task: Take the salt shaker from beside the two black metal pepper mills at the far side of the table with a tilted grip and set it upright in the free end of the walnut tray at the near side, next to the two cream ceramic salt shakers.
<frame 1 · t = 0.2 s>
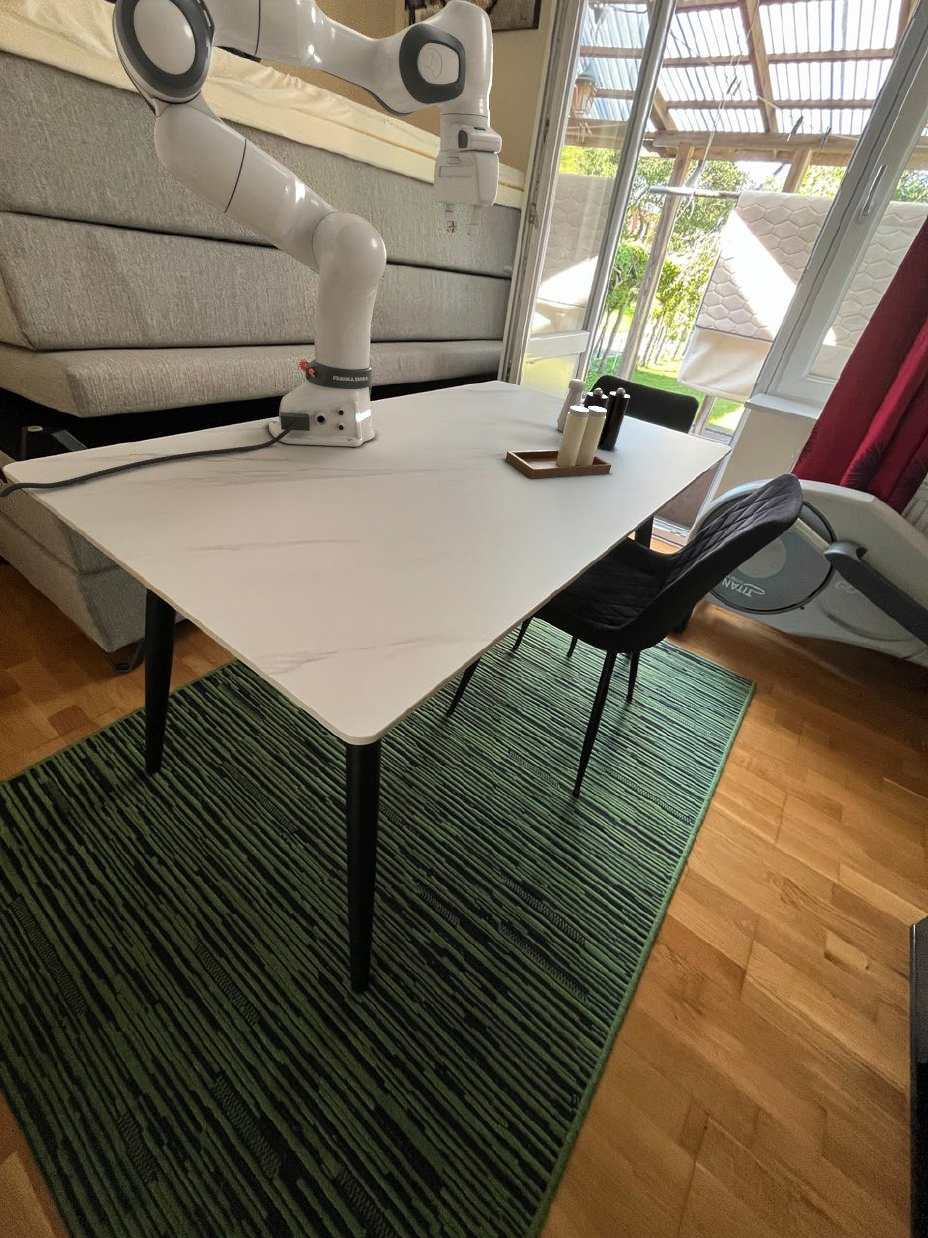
hand: (461, 233, 103), 39 cm above the table, tool pointing down, fingers open, 8 cm apart
walnut tray: (557, 466, 116), on the table
cream shaker 1: (564, 466, 117), resting on walnut tray
cream shaker 2: (581, 465, 120), resting on walnut tray
salt shaker: (565, 431, 142), on the table
pepper mill 2: (604, 447, 134), on the table
pepper mill 1: (582, 449, 130), on the table
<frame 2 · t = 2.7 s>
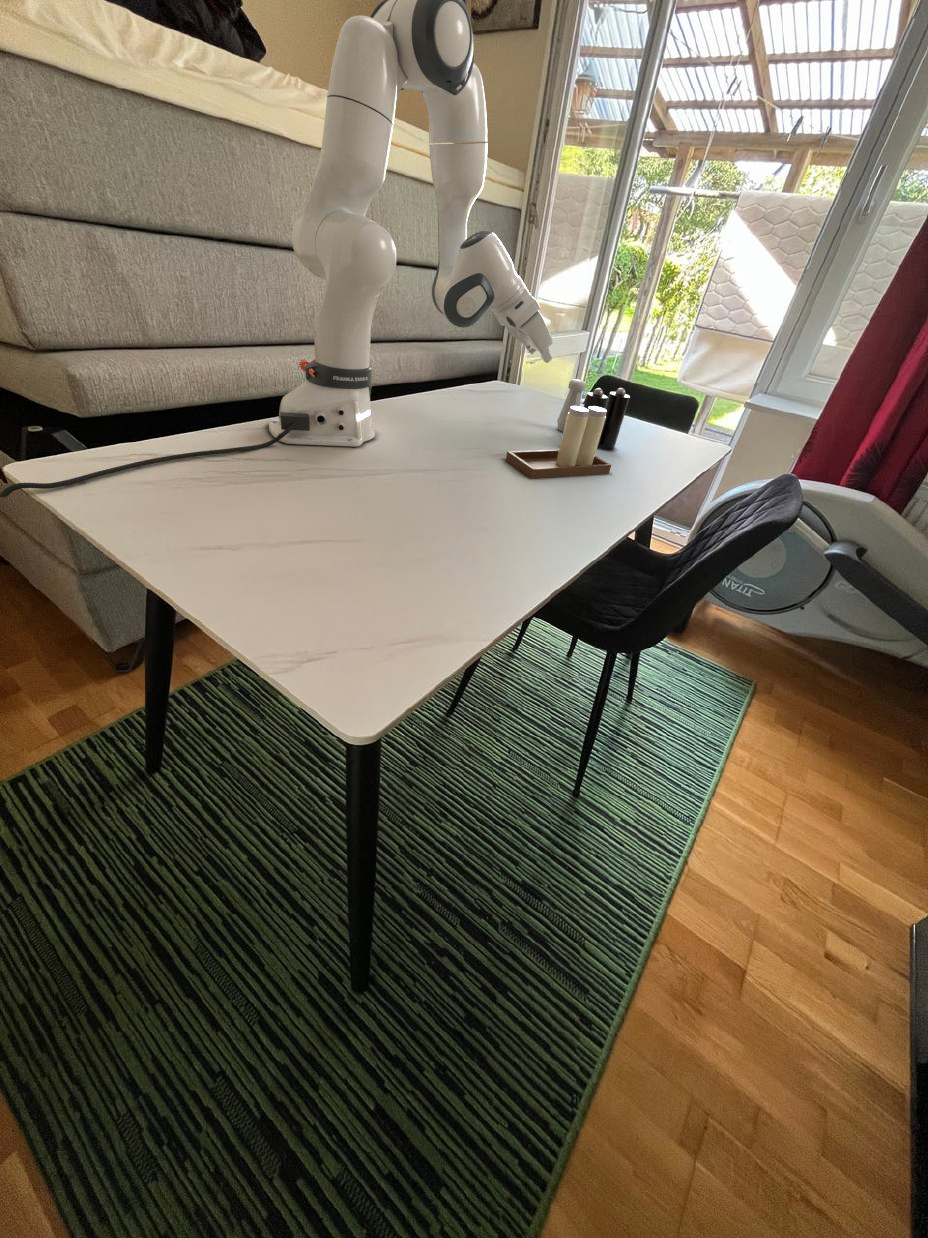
hand: (540, 355, 127), 18 cm above the table, tool tilted 45°, fingers open, 8 cm apart
nothing on the table moved.
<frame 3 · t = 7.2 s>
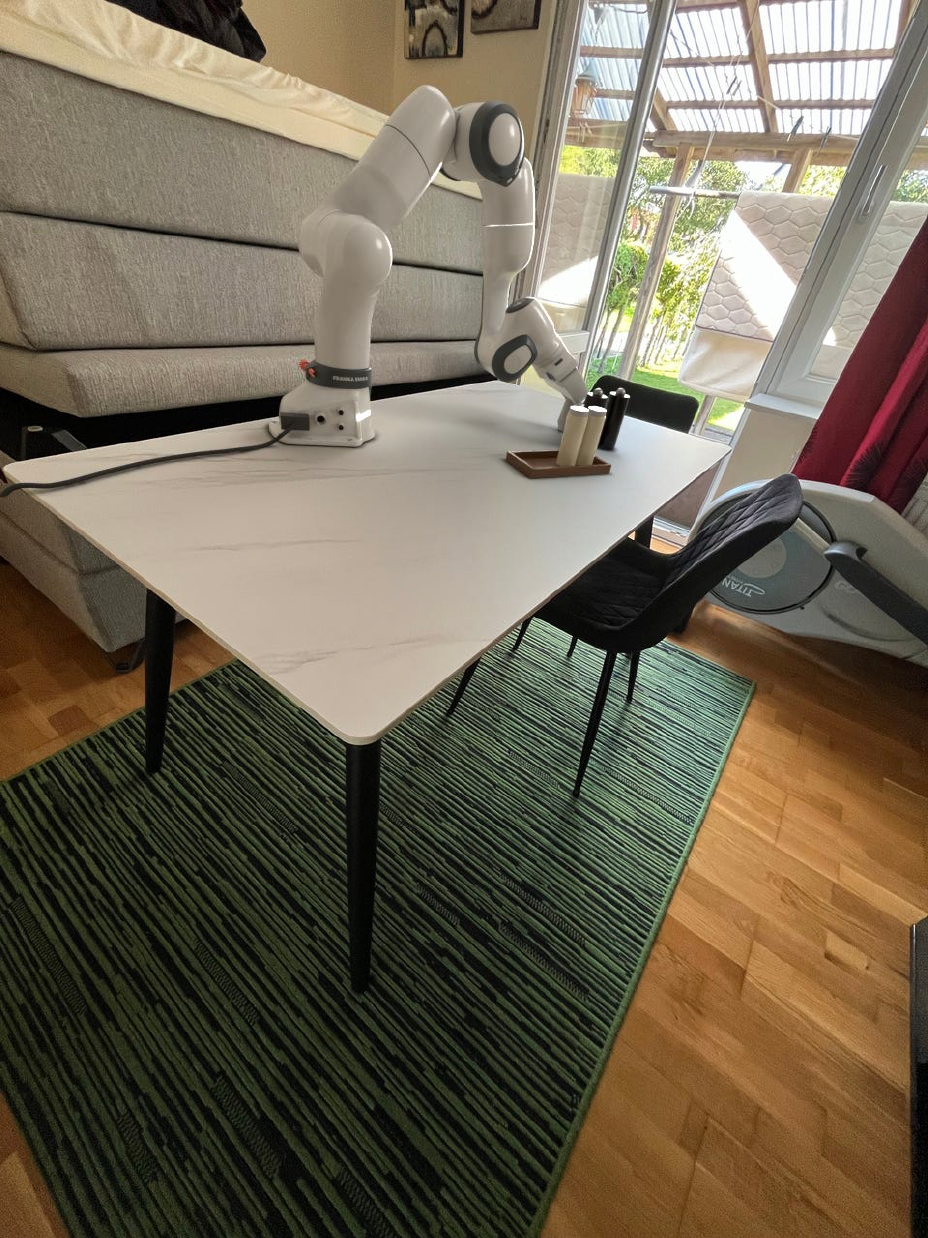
hand: (574, 403, 138), 7 cm above the table, tool tilted 45°, fingers closed on salt shaker, 3 cm apart
salt shaker: (565, 431, 142), on the table, touching gripper
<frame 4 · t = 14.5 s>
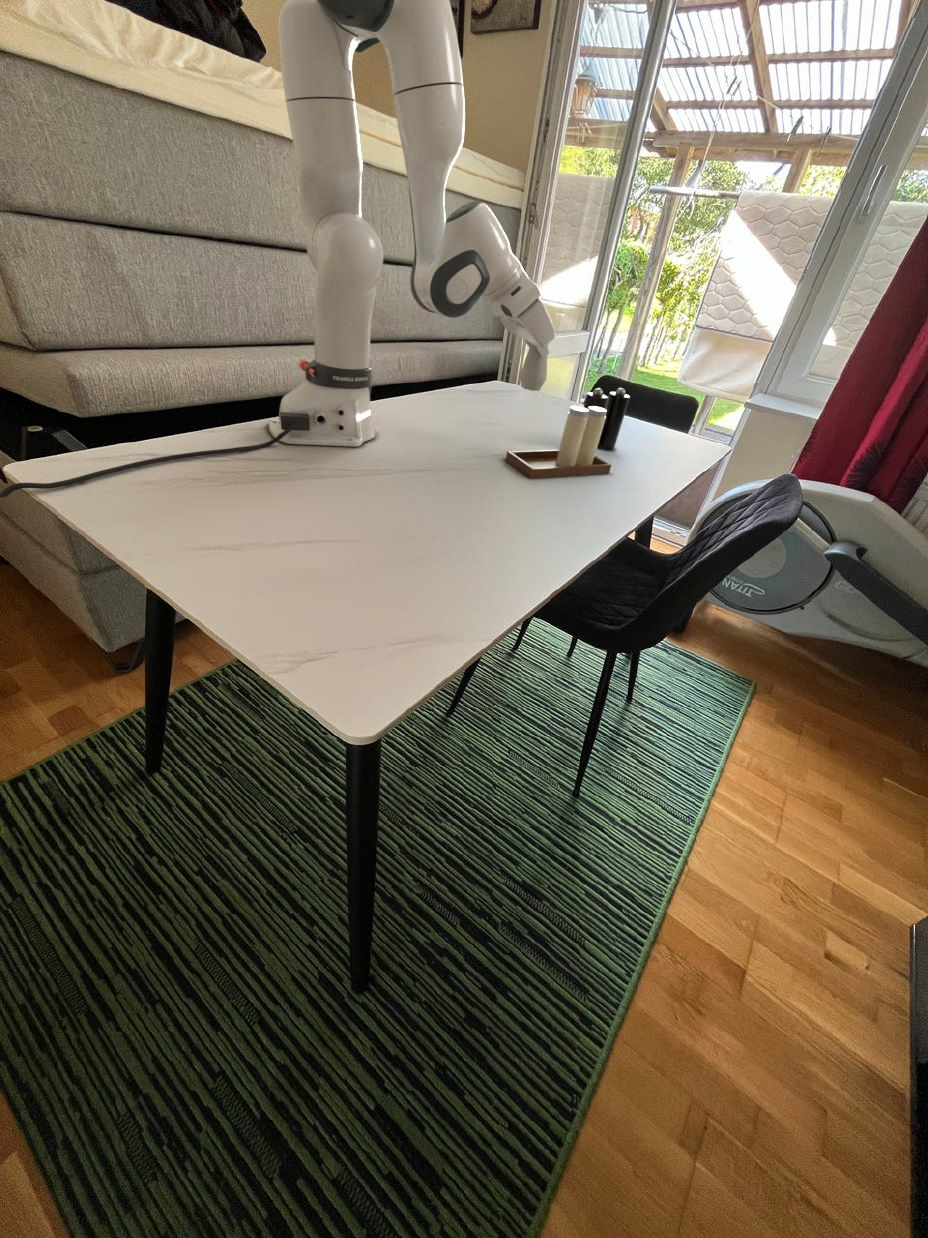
hand: (540, 352, 110), 21 cm above the table, tool tilted 45°, fingers closed on salt shaker, 3 cm apart
salt shaker: (530, 389, 114), point 14 cm above the table, touching gripper
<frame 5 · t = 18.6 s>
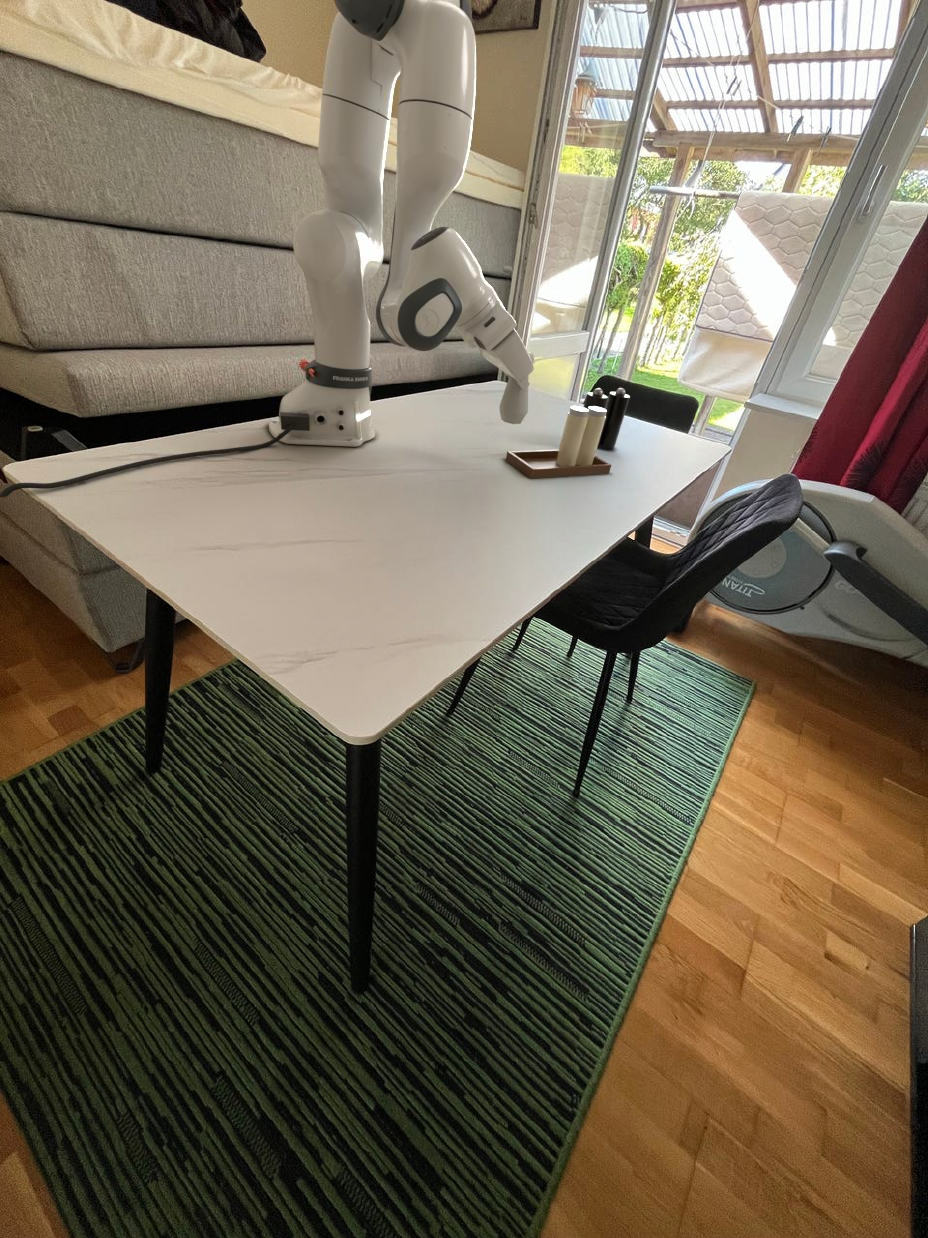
hand: (521, 383, 102), 17 cm above the table, tool tilted 45°, fingers closed on salt shaker, 3 cm apart
salt shaker: (511, 421, 106), point 10 cm above the table, touching gripper
when the fingers open (8 cm above the table, at t = 22.3 s): salt shaker stays where it is, resting on walnut tray.
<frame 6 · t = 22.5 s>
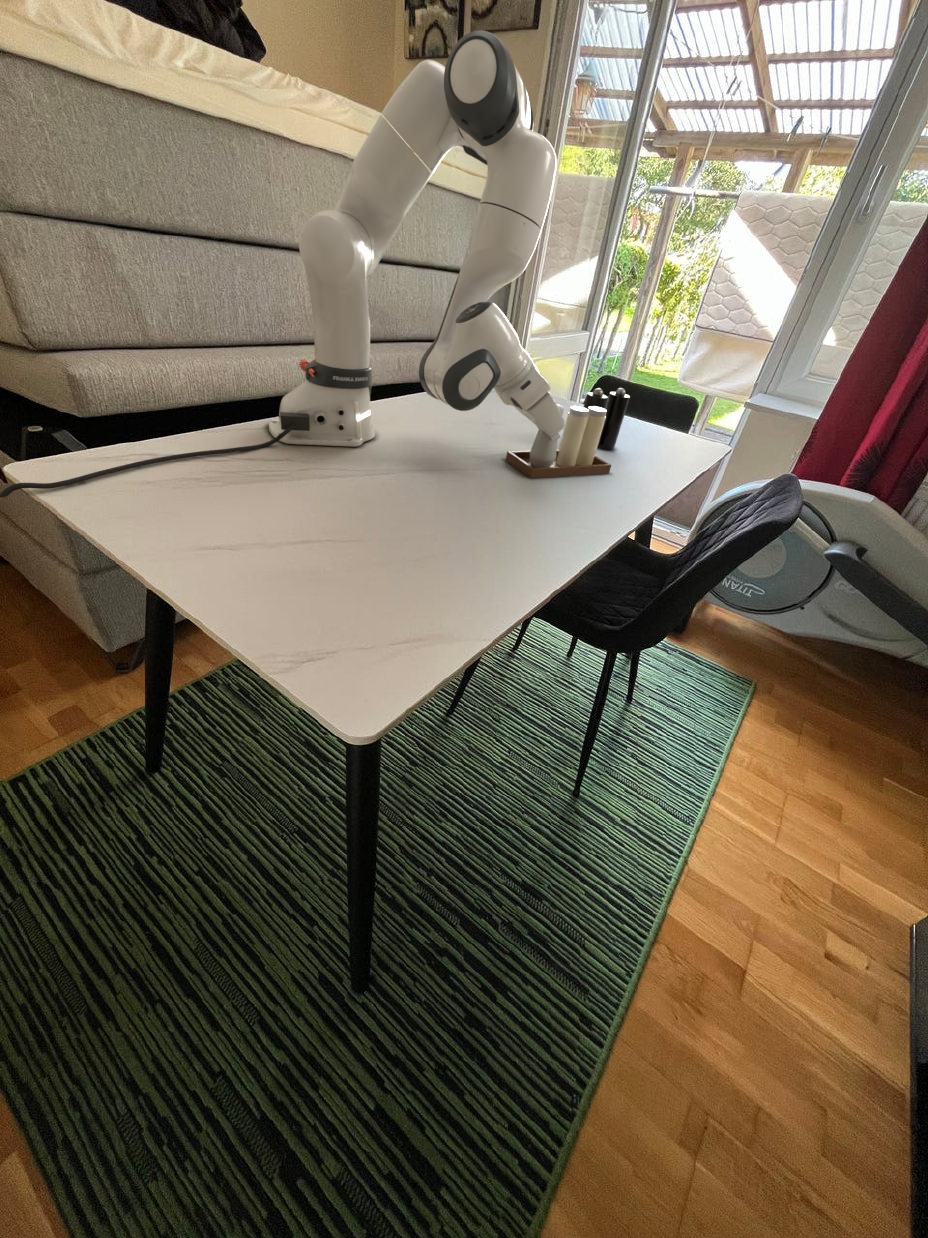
hand: (550, 434, 110), 7 cm above the table, tool tilted 45°, fingers open, 4 cm apart
salt shaker: (540, 466, 114), resting on walnut tray
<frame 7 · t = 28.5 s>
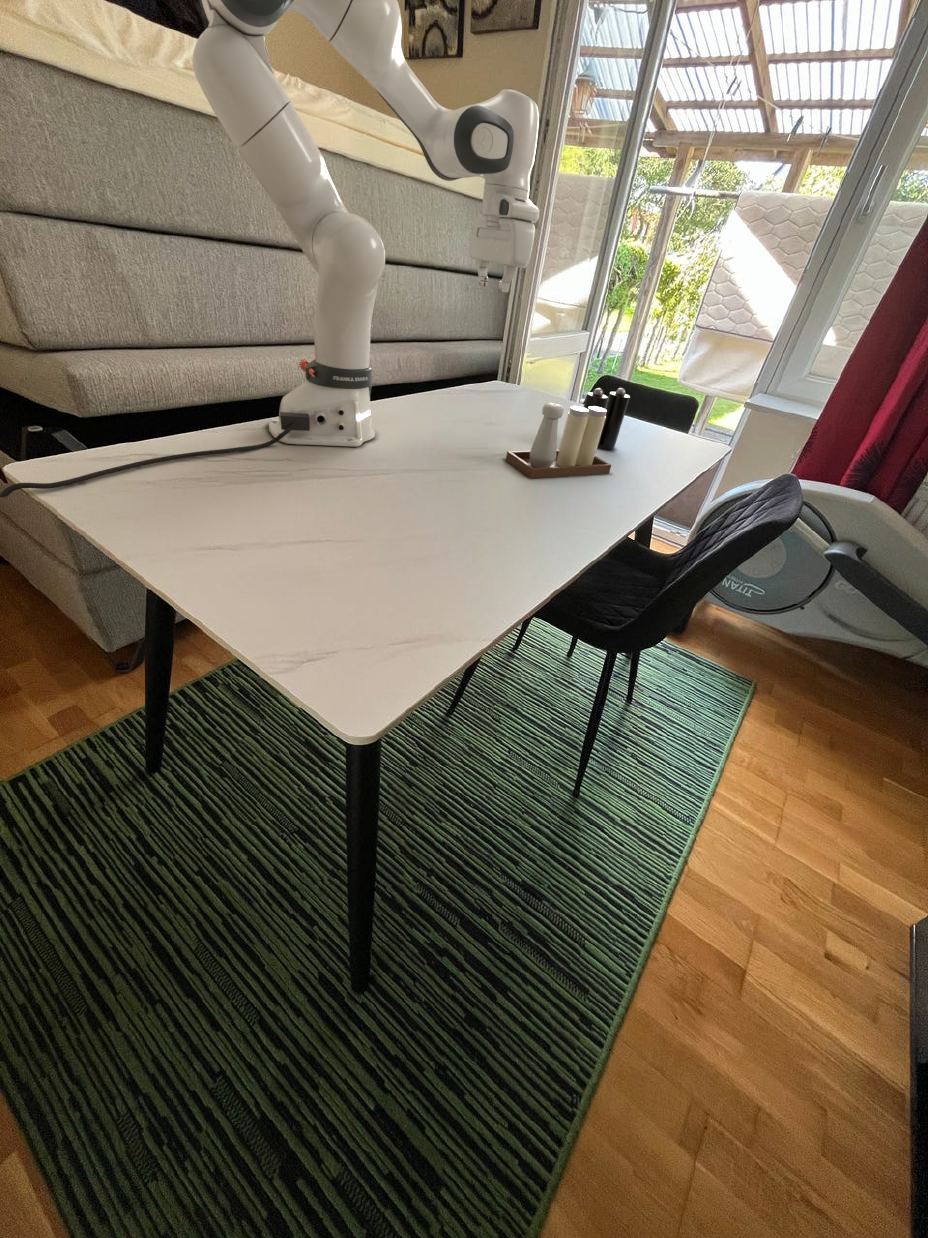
hand: (492, 288, 111), 30 cm above the table, tool pointing down, fingers open, 8 cm apart
nothing on the table moved.
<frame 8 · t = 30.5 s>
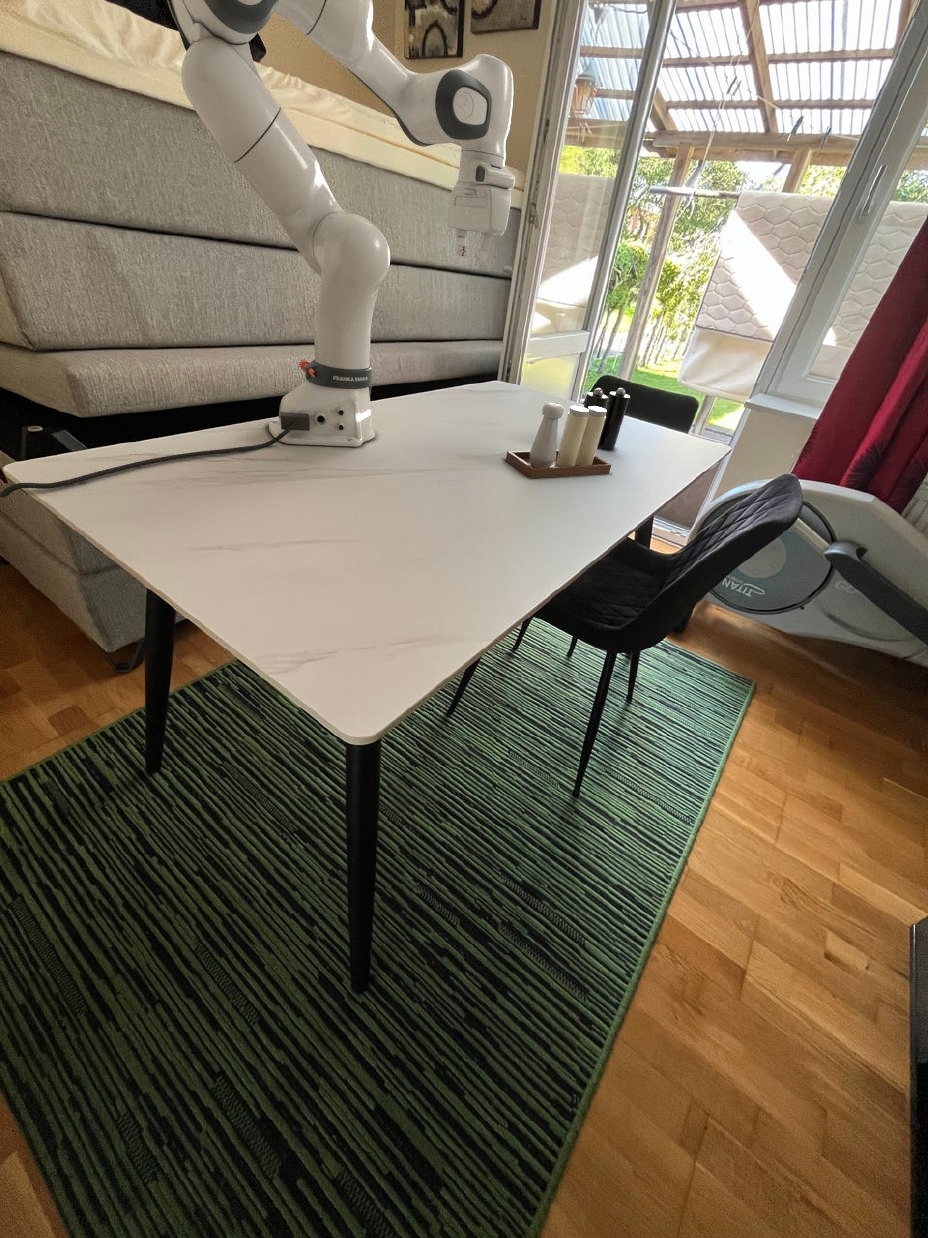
hand: (470, 257, 112), 35 cm above the table, tool pointing down, fingers open, 8 cm apart
nothing on the table moved.
at the end: salt shaker 0.1 cm from the target spot in the walnut tray, point 0.3 cm above the walnut tray's base; salt shaker tilted 0°; the gripper is holding nothing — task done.
